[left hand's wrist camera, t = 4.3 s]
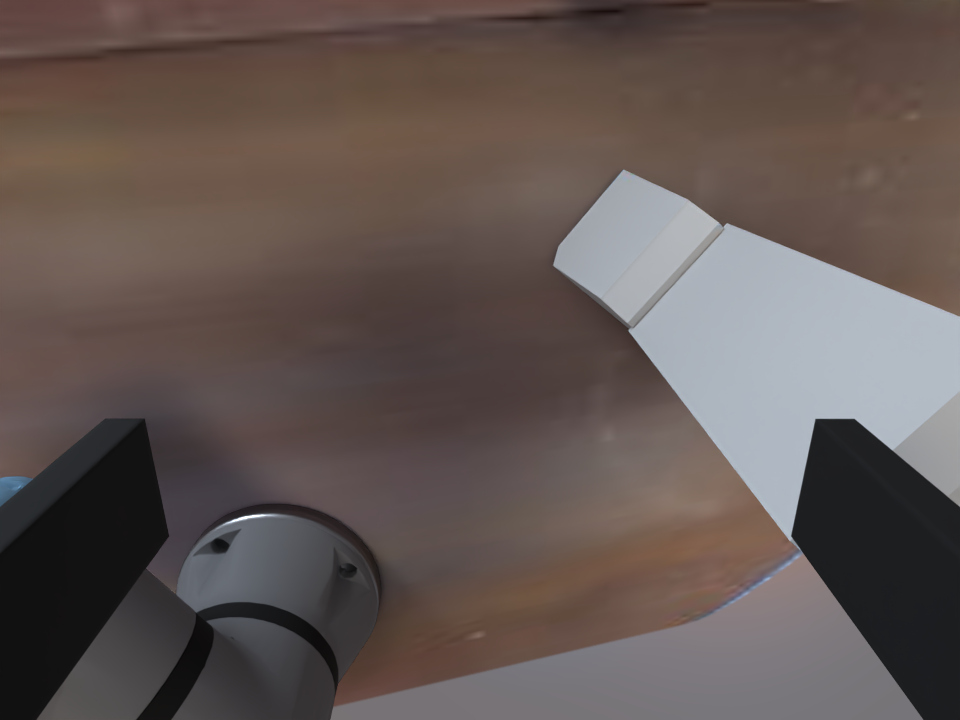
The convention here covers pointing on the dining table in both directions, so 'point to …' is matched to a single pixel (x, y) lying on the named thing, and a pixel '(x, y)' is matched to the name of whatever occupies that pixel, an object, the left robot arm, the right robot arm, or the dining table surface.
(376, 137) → the dining table surface
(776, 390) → the electronic device
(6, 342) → the dining table surface
